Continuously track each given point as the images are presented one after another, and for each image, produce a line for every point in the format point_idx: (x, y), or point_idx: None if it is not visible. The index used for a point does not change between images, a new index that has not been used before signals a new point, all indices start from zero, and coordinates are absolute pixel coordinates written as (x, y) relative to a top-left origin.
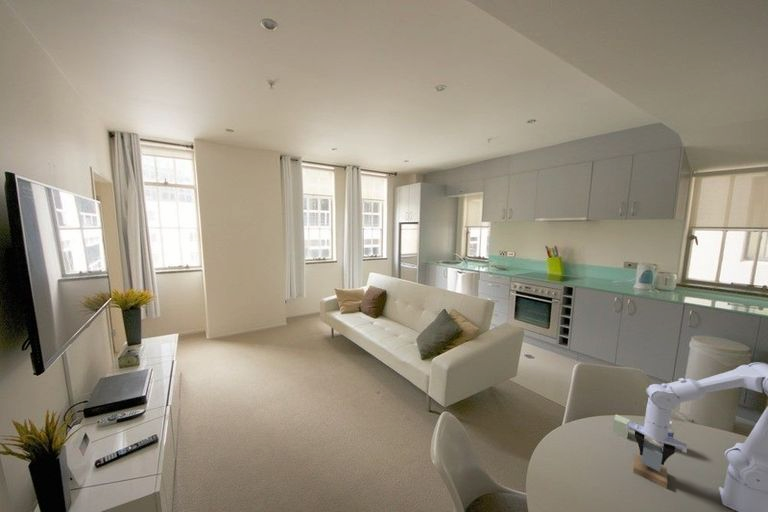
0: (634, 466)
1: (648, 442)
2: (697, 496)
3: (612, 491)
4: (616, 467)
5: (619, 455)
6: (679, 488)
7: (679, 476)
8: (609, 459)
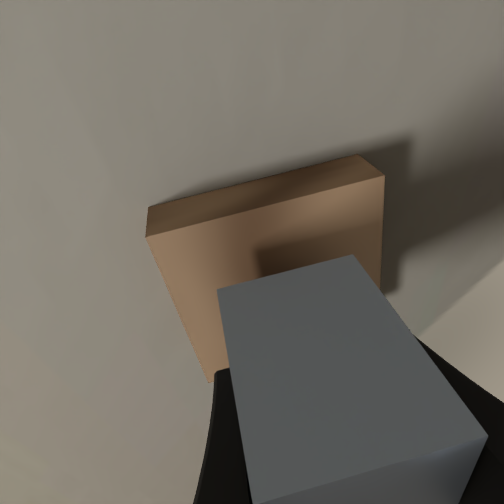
0: (208, 377)
1: (312, 496)
2: (500, 213)
3: (196, 487)
4: (131, 388)
5: (65, 276)
6: (420, 238)
7: (445, 88)
8: (66, 370)
